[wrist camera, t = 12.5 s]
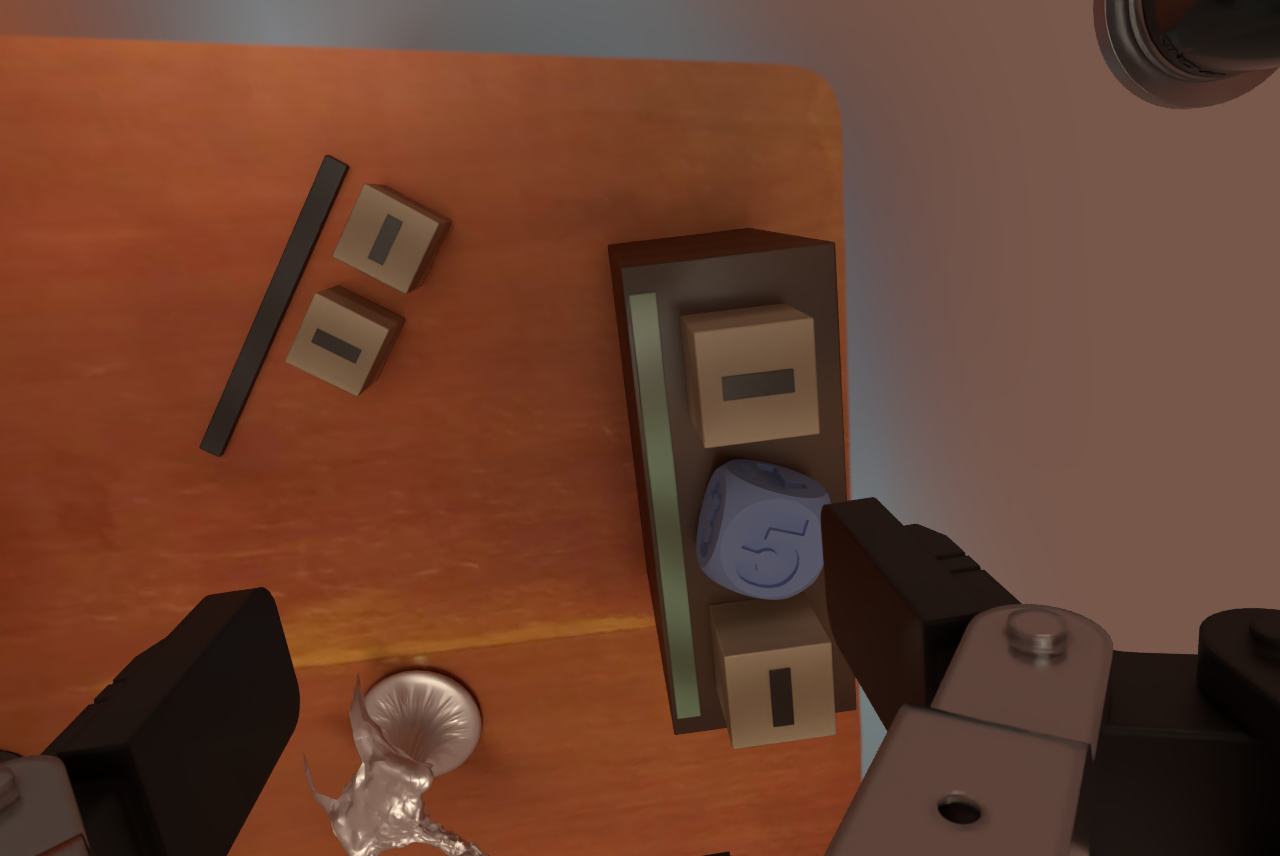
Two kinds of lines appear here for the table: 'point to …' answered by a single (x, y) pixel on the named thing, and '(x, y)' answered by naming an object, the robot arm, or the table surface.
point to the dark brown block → (729, 430)
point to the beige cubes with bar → (337, 294)
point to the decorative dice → (761, 529)
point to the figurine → (403, 763)
